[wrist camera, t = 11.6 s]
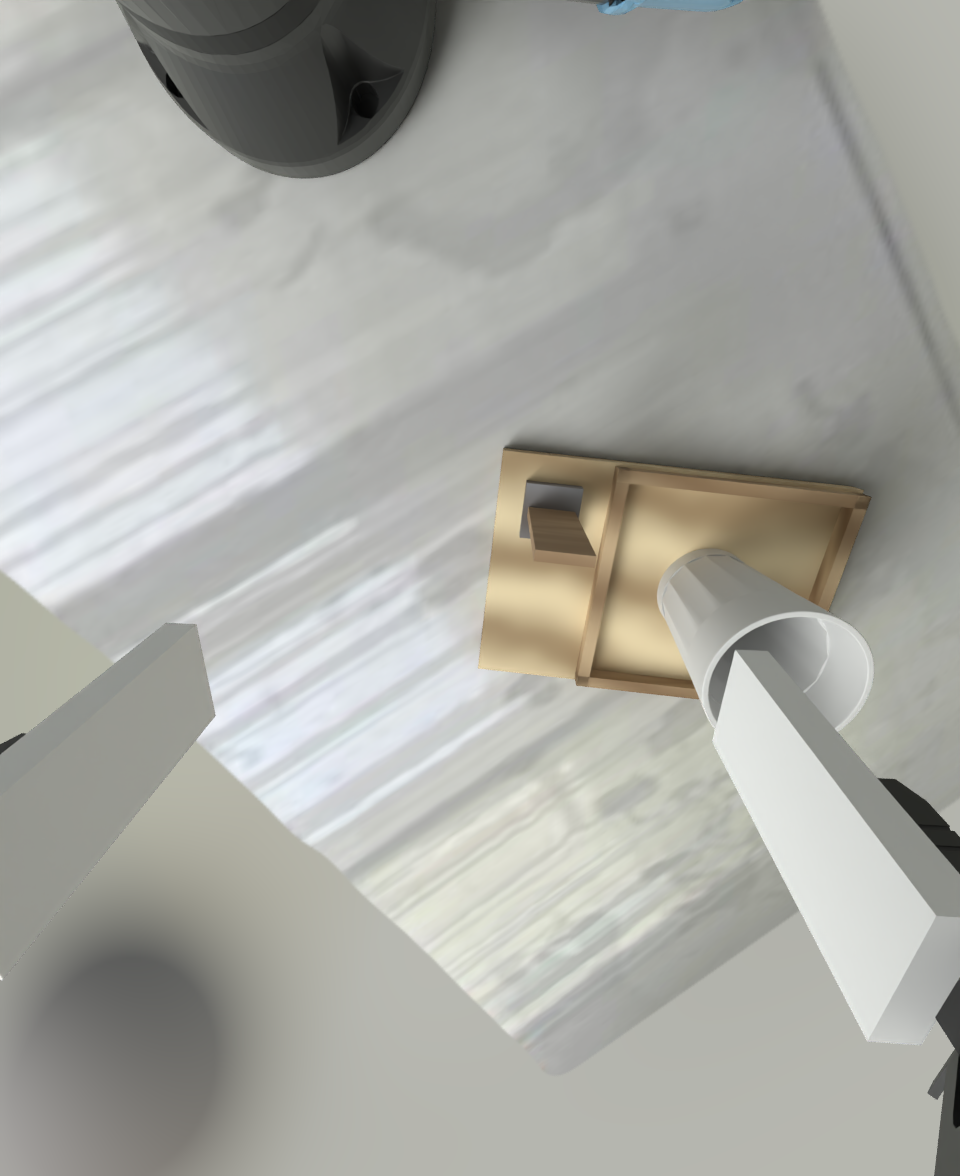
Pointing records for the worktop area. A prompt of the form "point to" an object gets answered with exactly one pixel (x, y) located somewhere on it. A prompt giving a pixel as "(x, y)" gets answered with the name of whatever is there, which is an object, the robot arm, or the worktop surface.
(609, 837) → the worktop surface
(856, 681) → the cup
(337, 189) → the worktop surface
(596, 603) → the board
